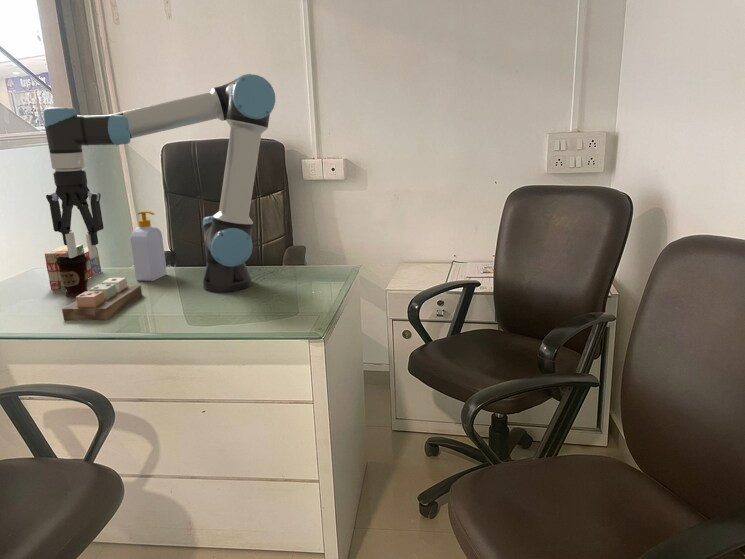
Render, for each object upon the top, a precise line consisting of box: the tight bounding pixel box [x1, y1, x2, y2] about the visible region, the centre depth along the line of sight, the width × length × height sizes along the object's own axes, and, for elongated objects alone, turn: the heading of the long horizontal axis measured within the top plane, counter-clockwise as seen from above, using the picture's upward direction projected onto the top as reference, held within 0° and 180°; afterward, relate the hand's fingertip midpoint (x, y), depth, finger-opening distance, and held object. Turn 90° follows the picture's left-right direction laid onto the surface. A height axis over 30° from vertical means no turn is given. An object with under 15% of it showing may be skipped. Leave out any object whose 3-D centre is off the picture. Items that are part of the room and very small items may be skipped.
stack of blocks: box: [44, 244, 102, 290], centre depth 189 cm, size 21×6×12 cm, turn 179°
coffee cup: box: [56, 252, 89, 298], centre depth 172 cm, size 9×8×13 cm
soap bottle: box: [130, 210, 168, 282], centre depth 189 cm, size 9×7×23 cm
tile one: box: [101, 277, 128, 292], centre depth 168 cm, size 5×5×3 cm
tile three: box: [75, 290, 105, 307], centre depth 154 cm, size 5×5×3 cm
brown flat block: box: [61, 284, 143, 321], centre depth 162 cm, size 12×22×3 cm, turn 178°
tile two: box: [88, 283, 116, 299], centre depth 161 cm, size 5×5×3 cm
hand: (83, 256), depth 151 cm, fingers open, 5 cm apart
